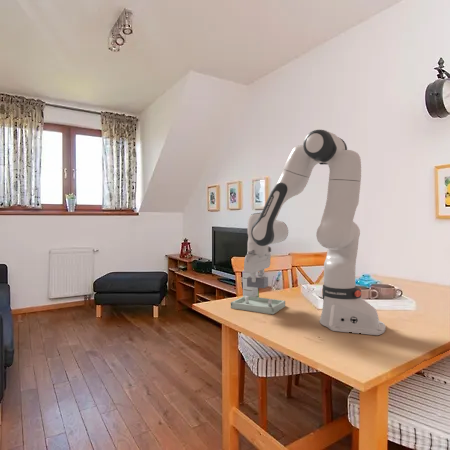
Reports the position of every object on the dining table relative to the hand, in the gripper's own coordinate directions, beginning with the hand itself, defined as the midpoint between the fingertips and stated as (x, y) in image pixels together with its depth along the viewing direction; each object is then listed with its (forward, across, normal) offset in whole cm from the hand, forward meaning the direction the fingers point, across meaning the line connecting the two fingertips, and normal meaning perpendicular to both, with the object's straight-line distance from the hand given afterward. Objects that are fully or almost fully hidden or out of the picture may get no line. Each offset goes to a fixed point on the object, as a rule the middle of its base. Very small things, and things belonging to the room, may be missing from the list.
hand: (257, 280), depth 145 cm
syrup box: (+12, +11, +9) cm, 19 cm away
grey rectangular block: (+3, 0, 0) cm, 3 cm away
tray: (+12, 0, 0) cm, 12 cm away
